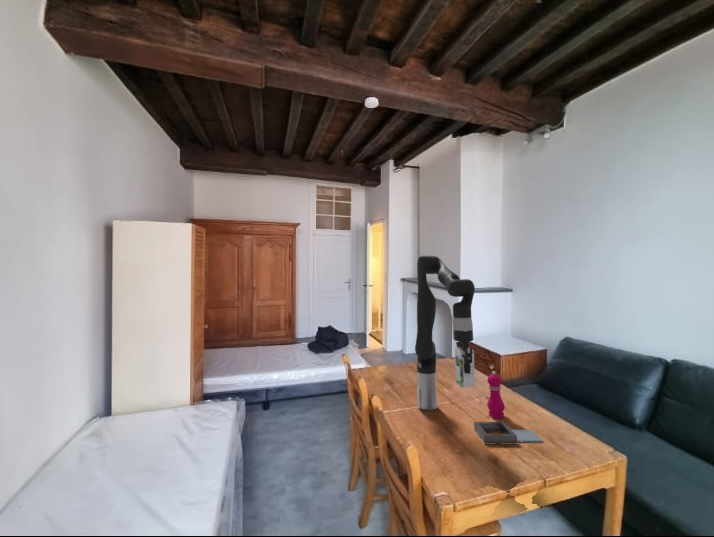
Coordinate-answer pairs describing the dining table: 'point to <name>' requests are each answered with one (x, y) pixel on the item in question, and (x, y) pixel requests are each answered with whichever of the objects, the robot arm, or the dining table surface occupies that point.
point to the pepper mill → (495, 397)
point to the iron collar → (495, 438)
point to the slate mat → (527, 436)
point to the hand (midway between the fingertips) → (464, 370)
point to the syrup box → (461, 376)
